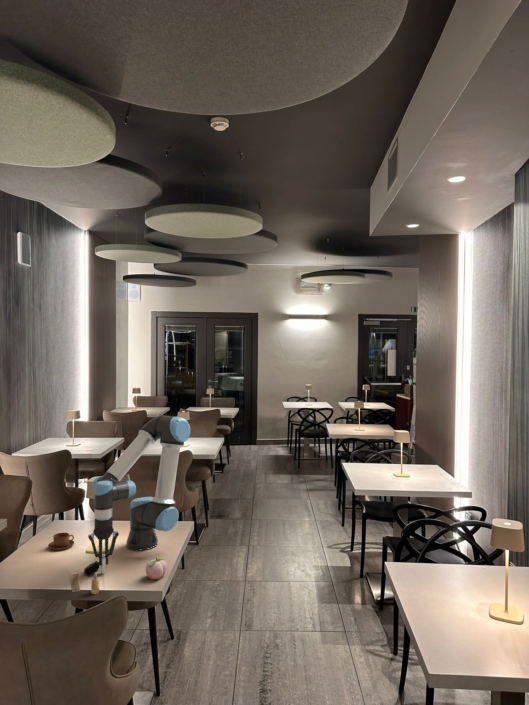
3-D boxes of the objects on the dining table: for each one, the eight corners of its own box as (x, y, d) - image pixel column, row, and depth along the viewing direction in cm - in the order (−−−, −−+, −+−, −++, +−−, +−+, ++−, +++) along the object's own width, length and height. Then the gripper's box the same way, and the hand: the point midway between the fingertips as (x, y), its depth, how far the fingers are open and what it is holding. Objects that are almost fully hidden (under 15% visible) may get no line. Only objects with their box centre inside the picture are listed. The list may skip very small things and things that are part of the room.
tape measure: (101, 569, 235) (97, 562, 235) (86, 579, 233) (82, 571, 233) (101, 566, 241) (97, 558, 241) (87, 575, 239) (83, 568, 239)
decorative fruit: (153, 574, 238) (153, 552, 238) (169, 577, 234) (169, 554, 234) (141, 583, 229) (141, 559, 229) (157, 586, 226) (157, 562, 226)
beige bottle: (98, 593, 220) (98, 570, 220) (99, 596, 217) (99, 573, 217) (91, 594, 219) (91, 572, 219) (91, 597, 216) (91, 574, 216)
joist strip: (77, 575, 236) (77, 573, 236) (80, 593, 219) (80, 590, 219) (70, 576, 235) (70, 574, 235) (72, 594, 218) (72, 591, 218)
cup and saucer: (63, 541, 278) (63, 529, 278) (79, 546, 272) (79, 533, 272) (43, 548, 268) (43, 536, 268) (58, 553, 261) (58, 541, 261)
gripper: (117, 513, 242) (117, 566, 242) (87, 517, 237) (87, 571, 237) (120, 518, 235) (120, 573, 235) (88, 521, 230) (88, 577, 230)
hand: (103, 572), depth 236 cm, fingers closed
